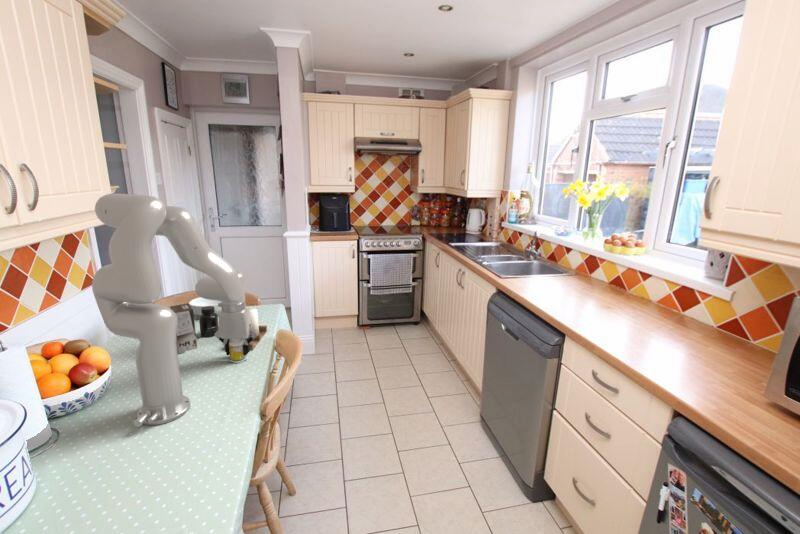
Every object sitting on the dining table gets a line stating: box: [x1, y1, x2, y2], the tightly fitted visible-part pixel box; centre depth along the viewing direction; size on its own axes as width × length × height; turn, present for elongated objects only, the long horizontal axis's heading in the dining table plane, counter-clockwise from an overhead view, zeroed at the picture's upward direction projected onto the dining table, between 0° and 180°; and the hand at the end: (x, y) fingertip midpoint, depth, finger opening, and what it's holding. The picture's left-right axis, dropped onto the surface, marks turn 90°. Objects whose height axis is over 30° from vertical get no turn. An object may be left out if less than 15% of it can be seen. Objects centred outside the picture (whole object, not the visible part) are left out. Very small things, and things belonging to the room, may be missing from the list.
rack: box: [230, 325, 268, 352], centre depth 149 cm, size 18×10×3 cm, turn 2°
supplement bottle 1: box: [198, 306, 219, 339], centre depth 152 cm, size 7×7×12 cm
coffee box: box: [169, 302, 198, 354], centre depth 140 cm, size 9×6×16 cm
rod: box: [247, 307, 260, 334], centre depth 151 cm, size 4×4×11 cm
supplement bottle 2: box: [229, 339, 247, 364], centre depth 133 cm, size 5×5×10 cm
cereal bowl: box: [188, 296, 222, 316], centre depth 174 cm, size 17×17×7 cm
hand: (237, 353), depth 134 cm, fingers closed on supplement bottle 2, 5 cm apart
